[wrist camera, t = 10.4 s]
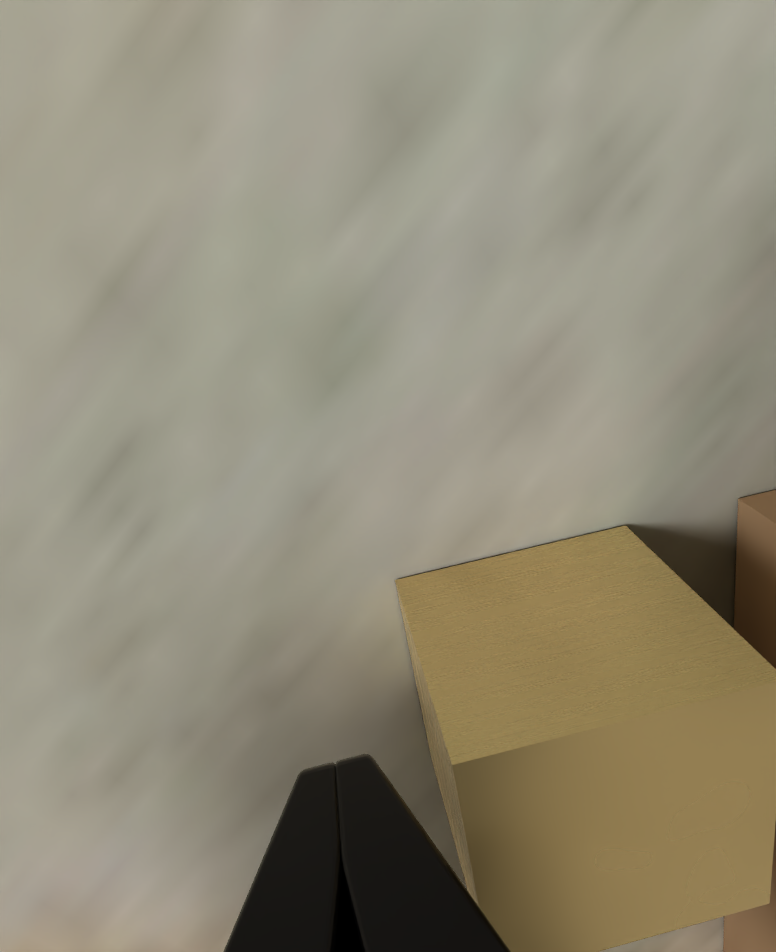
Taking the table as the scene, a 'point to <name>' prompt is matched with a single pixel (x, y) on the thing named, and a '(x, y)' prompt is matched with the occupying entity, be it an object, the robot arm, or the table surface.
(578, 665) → the block
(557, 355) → the table surface
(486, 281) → the table surface
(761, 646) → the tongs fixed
